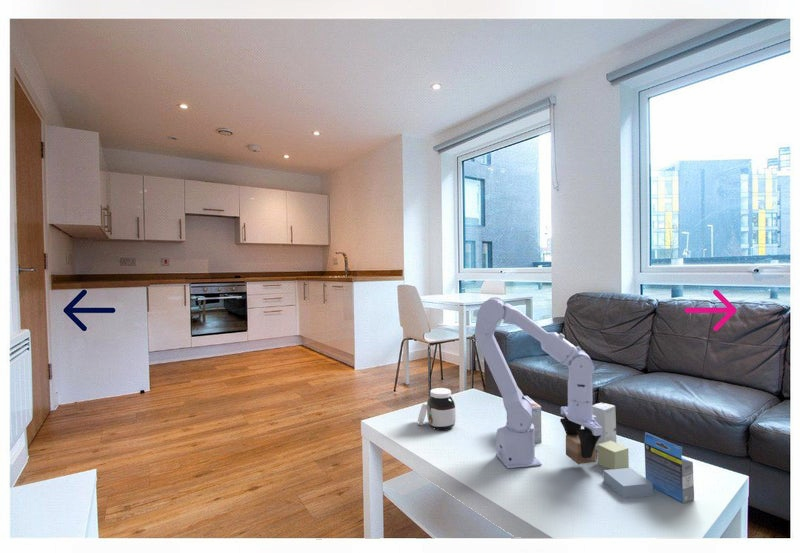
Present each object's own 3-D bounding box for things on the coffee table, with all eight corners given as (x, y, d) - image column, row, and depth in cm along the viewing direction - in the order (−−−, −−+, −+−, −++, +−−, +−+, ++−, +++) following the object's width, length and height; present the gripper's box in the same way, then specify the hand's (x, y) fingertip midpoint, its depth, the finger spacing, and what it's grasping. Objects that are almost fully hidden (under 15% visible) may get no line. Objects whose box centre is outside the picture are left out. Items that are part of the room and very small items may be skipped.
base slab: (623, 499, 86) (623, 486, 86) (603, 482, 93) (603, 470, 93) (652, 496, 86) (652, 483, 86) (630, 480, 93) (630, 467, 93)
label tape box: (695, 500, 84) (694, 444, 84) (682, 504, 83) (681, 447, 83) (656, 480, 93) (655, 429, 92) (644, 483, 91) (643, 431, 91)
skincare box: (605, 454, 106) (605, 410, 106) (590, 448, 110) (589, 405, 109) (617, 448, 109) (617, 405, 109) (601, 442, 113) (601, 401, 113)
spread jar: (459, 429, 124) (458, 393, 124) (428, 435, 120) (427, 398, 120) (441, 417, 136) (440, 384, 135) (412, 422, 131) (411, 388, 131)
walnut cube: (577, 463, 96) (577, 443, 96) (565, 454, 101) (565, 435, 101) (595, 462, 97) (595, 442, 96) (583, 453, 101) (583, 434, 101)
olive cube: (615, 472, 97) (614, 452, 97) (597, 463, 101) (597, 444, 101) (628, 467, 99) (628, 448, 99) (611, 459, 103) (610, 440, 103)
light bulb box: (507, 429, 124) (506, 396, 124) (527, 428, 124) (527, 395, 124) (520, 444, 113) (520, 407, 113) (542, 443, 114) (542, 406, 113)
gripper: (614, 408, 92) (614, 464, 92) (577, 389, 106) (577, 438, 106) (586, 410, 91) (587, 467, 91) (553, 391, 105) (553, 440, 105)
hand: (580, 452), depth 99 cm, fingers closed on walnut cube, 5 cm apart
